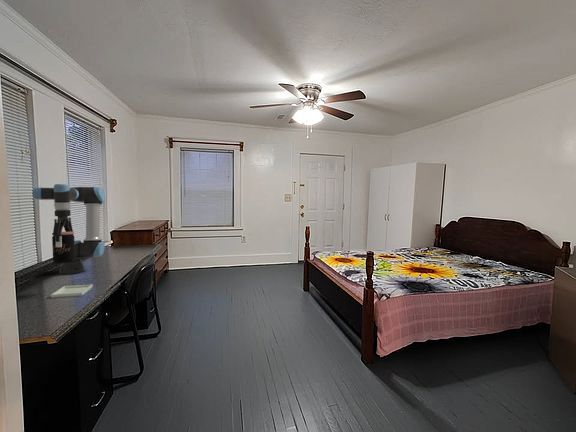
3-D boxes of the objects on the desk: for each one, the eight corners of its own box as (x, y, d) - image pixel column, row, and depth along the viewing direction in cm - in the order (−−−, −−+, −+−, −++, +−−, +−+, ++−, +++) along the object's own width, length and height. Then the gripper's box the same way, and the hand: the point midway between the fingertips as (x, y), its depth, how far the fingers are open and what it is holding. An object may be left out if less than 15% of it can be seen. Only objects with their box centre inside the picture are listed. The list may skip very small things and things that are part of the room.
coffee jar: (49, 263, 166) (47, 233, 164) (59, 260, 176) (57, 231, 175) (69, 263, 168) (68, 233, 167) (78, 259, 178) (77, 231, 177)
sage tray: (64, 288, 175) (63, 286, 175) (92, 287, 180) (92, 284, 179) (50, 297, 160) (50, 294, 160) (82, 295, 165) (82, 292, 164)
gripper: (65, 208, 180) (66, 242, 182) (43, 210, 158) (45, 249, 159) (78, 209, 182) (79, 242, 184) (59, 210, 160) (60, 248, 161)
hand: (63, 245), depth 171 cm, fingers closed on coffee jar, 11 cm apart
